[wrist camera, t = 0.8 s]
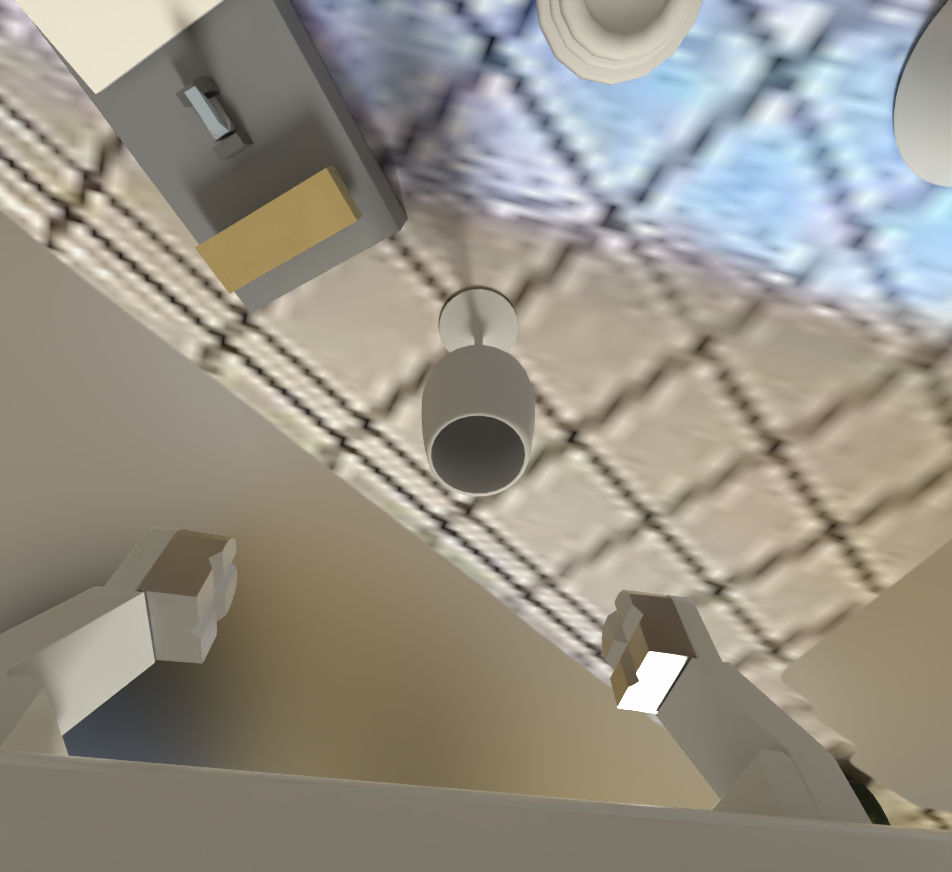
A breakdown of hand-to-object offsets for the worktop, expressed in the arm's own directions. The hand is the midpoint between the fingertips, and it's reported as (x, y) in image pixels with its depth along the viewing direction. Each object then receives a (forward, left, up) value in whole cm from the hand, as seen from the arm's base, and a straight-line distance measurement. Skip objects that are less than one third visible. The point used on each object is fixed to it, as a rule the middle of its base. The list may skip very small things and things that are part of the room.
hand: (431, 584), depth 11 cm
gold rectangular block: (+11, -7, -32) cm, 35 cm away
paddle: (+11, -14, -33) cm, 37 cm away
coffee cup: (-14, -9, -39) cm, 42 cm away
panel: (+11, -14, -39) cm, 43 cm away
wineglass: (+3, +8, -39) cm, 40 cm away
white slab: (+11, -22, -32) cm, 40 cm away
